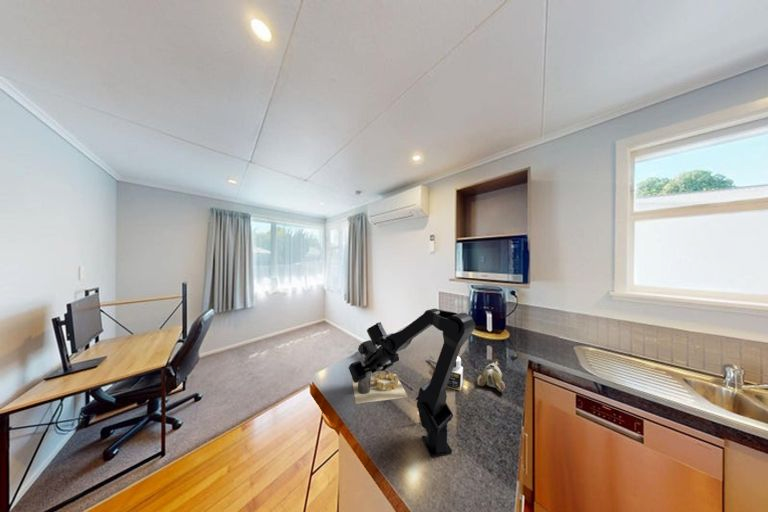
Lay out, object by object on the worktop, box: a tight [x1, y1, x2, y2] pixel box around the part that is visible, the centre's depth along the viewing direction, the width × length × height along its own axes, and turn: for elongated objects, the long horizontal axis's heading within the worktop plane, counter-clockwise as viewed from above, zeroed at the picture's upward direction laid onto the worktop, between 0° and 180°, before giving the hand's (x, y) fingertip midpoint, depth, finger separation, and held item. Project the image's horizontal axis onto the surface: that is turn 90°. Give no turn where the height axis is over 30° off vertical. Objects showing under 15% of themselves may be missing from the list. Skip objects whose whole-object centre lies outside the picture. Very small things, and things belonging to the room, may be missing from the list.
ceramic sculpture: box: [476, 362, 506, 394], centre depth 92 cm, size 11×9×15 cm
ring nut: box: [373, 371, 399, 391], centre depth 88 cm, size 10×10×2 cm
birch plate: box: [351, 373, 409, 405], centre depth 86 cm, size 17×20×1 cm
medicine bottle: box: [446, 356, 464, 391], centre depth 91 cm, size 7×7×12 cm
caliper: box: [426, 358, 438, 366], centre depth 104 cm, size 21×1×6 cm, turn 20°
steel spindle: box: [358, 356, 372, 394], centre depth 84 cm, size 5×5×12 cm
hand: (362, 374), depth 85 cm, fingers open, 9 cm apart
